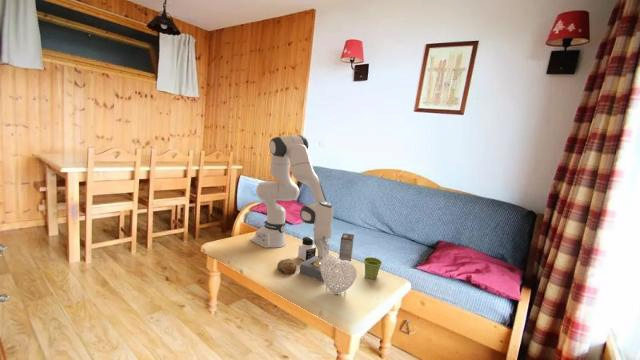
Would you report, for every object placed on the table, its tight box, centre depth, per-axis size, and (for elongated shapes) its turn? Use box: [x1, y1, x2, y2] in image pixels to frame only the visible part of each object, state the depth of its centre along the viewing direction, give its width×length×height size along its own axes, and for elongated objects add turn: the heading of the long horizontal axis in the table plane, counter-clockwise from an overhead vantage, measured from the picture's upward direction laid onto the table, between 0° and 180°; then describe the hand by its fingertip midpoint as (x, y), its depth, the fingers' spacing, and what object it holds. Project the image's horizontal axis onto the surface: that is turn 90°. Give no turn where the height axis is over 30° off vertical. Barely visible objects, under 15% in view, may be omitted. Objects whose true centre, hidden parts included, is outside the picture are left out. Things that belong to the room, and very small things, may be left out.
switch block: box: [299, 255, 336, 283], centre depth 162 cm, size 14×14×5 cm
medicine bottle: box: [297, 236, 317, 262], centre depth 178 cm, size 7×7×12 cm
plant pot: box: [363, 256, 383, 280], centre depth 163 cm, size 9×9×9 cm
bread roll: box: [276, 258, 297, 275], centre depth 161 cm, size 10×10×8 cm
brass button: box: [313, 261, 321, 267], centre depth 162 cm, size 6×6×4 cm
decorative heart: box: [320, 254, 357, 298], centre depth 142 cm, size 18×11×17 cm, turn 53°
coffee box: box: [338, 232, 355, 266], centre depth 175 cm, size 9×6×16 cm
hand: (319, 258), depth 162 cm, fingers closed
